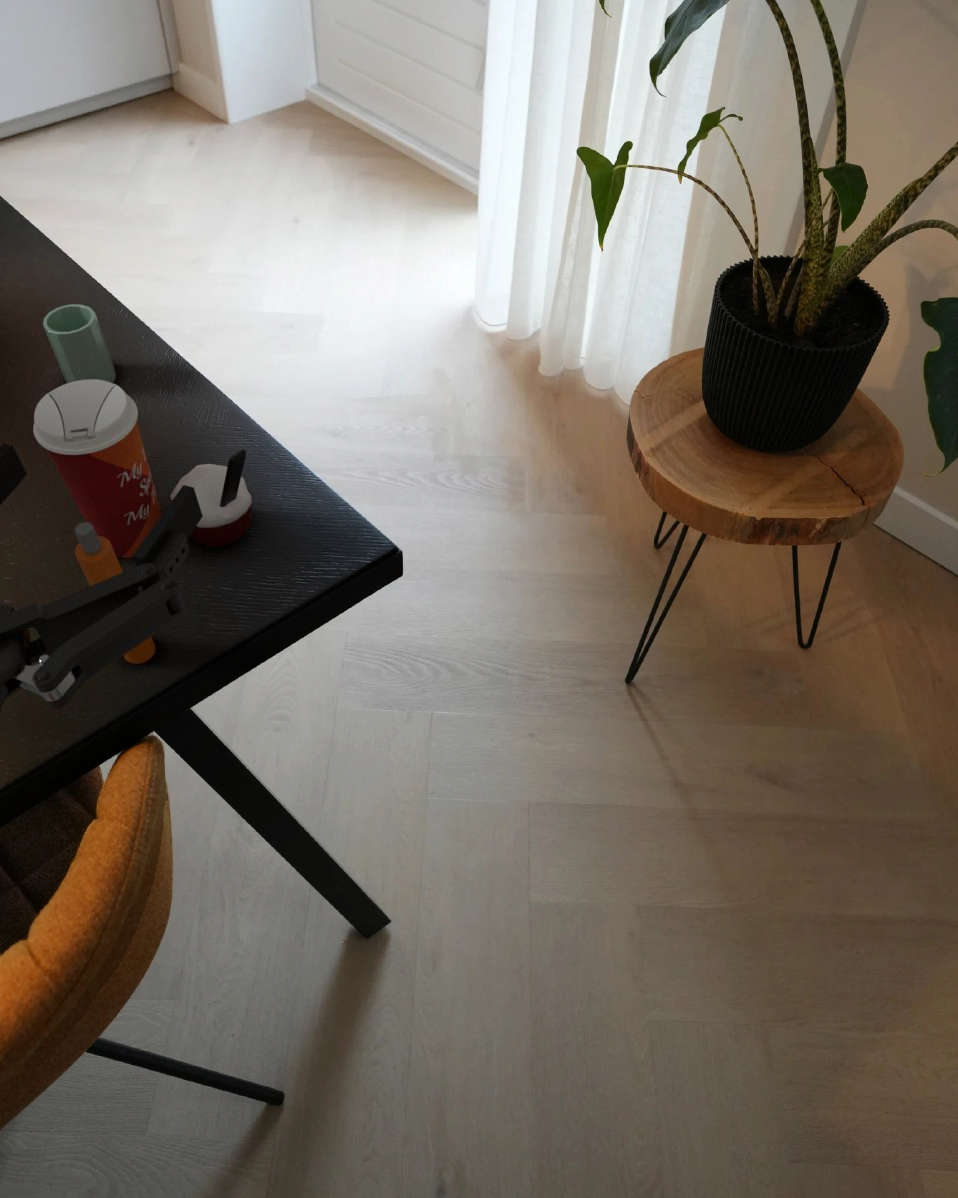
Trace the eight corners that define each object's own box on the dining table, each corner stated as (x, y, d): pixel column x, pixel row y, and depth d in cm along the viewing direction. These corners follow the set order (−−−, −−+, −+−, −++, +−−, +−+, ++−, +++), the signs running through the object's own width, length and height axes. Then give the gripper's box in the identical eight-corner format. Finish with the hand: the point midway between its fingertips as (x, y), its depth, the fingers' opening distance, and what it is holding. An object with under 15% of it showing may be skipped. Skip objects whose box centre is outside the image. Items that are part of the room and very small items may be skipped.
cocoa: (172, 511, 85) (135, 404, 76) (240, 488, 87) (212, 380, 77) (206, 584, 80) (170, 479, 70) (277, 558, 82) (252, 452, 72)
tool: (118, 660, 75) (58, 538, 64) (132, 636, 76) (75, 512, 65) (147, 666, 75) (91, 544, 64) (160, 641, 76) (108, 518, 65)
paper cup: (178, 559, 81) (132, 433, 71) (84, 574, 80) (23, 447, 69) (176, 495, 86) (133, 367, 75) (87, 508, 85) (31, 380, 74)
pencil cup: (58, 390, 95) (33, 330, 90) (81, 360, 98) (58, 301, 93) (102, 397, 95) (80, 337, 89) (124, 367, 98) (103, 307, 92)
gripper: (-252, 718, 58) (-33, 481, 71) (118, 833, 53) (280, 557, 66) (-334, 643, 52) (-79, 399, 65) (74, 765, 47) (261, 477, 60)
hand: (103, 478), depth 65 cm, fingers open, 13 cm apart
